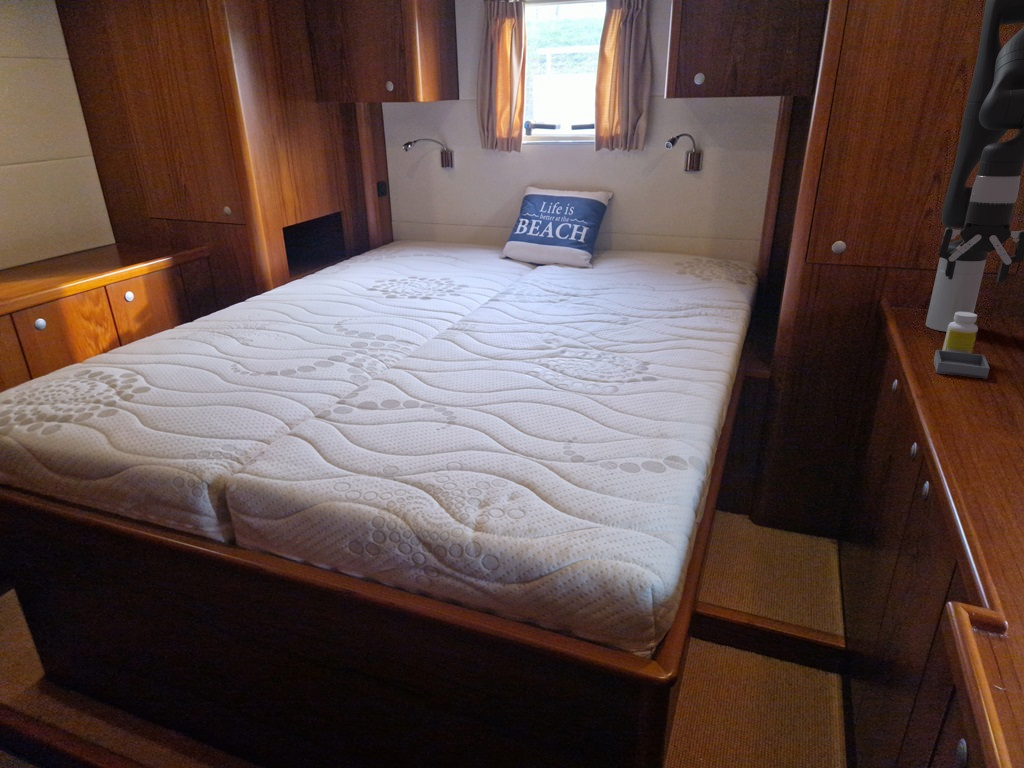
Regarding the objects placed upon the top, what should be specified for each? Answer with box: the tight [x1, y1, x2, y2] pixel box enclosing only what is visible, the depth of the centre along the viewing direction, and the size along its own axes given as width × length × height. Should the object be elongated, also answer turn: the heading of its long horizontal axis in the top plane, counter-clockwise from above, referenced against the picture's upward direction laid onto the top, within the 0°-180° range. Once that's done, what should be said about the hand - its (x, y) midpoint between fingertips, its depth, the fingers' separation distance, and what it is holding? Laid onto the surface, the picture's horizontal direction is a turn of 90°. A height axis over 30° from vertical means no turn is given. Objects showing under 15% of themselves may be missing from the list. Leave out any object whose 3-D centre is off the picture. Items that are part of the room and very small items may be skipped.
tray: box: [933, 349, 991, 380], centre depth 136 cm, size 9×9×2 cm
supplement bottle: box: [941, 312, 979, 354], centre depth 141 cm, size 5×5×10 cm
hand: (973, 280), depth 137 cm, fingers open, 8 cm apart
